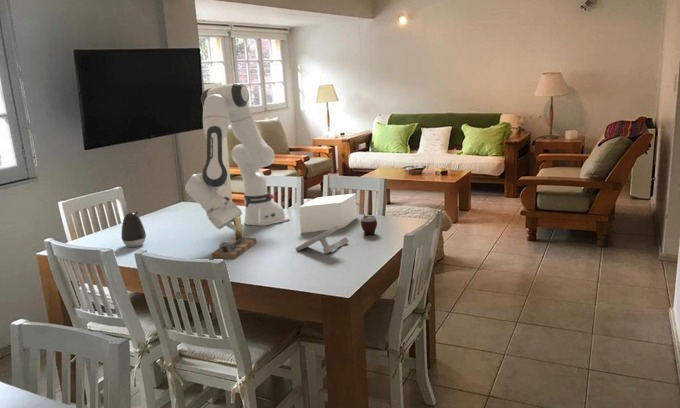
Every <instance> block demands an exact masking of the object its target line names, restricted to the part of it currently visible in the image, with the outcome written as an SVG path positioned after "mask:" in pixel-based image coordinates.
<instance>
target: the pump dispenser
mask: <svg viewBox="0 0 680 408" xmlns="http://www.w3.org/2000/svg"><path fill="white" fill-rule="evenodd" d="M138 214H139V211H135V212H132V211H131V212H127V213H126V214H125V215H124V218H123V220H122V226H121V240H122V243H123V244H124V245H125V246H126V247H129V248H137V247H140V246H142V245H143V244H144V243H145V241H146V238H147V233H146V230H145V227H144V224H143V222H142V220H141V219H140V217H139V215H138Z"/></svg>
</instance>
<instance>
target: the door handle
mask: <svg viewBox="0 0 680 408" xmlns="http://www.w3.org/2000/svg"><path fill="white" fill-rule="evenodd" d="M339 229H340V228H339V227H338V225H336V226H334V227H332V228H330V229H328V230H323V232H320V234H318V235H315V236H314V237H313V238H310V239H309V240H307V241H306V242H303V243H302V244H301V245H298V246H297V247H295V250H296V251H297V252H300V251H301V250H304V249H306V248H308V247H309V246H312V245H313V244H315V243H317V242H320V243H321V246H322V250H323V252H324V254H329V253H331V252H332V251H333V250H335V249H338V248H340V247H342V246H344V245H347V244H348V243H349V239H348V237H343V238H342V239H340V240H338V241H335V243H333V244H329V243H328V241H327V239H326V237H327V236H329V235H331V234H333V233H335V232H337V231H338V230H339Z"/></svg>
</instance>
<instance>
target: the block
mask: <svg viewBox="0 0 680 408" xmlns="http://www.w3.org/2000/svg"><path fill="white" fill-rule="evenodd" d="M355 202H356V203H357V193H349V194H340V195H339V194H338V195H329V196H328V195H327V196H320V197H316V198H313V199H312V200H309V201H308V202H306V203H304V204H302V205H300V206H299V207H298V208H299V221H300V222H299V223H300V233H301V234H303V233H312V232H319V231H320V232H321V231H326V230H328V229H330V228H332V227H334V226H336V225H338V227H339V229H343V228H345V227H346V226H347V225H349V224H350V223H351V222H353V221H354V220H356V219H357V218H358V209H357V208H358V207H357V205H358V204H356V203H355Z"/></svg>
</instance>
